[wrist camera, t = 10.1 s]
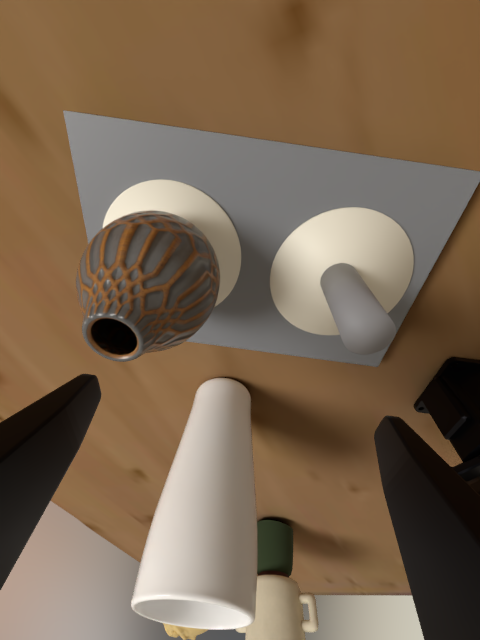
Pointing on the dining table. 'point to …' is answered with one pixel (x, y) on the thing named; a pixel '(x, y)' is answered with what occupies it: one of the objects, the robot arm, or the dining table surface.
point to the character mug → (278, 589)
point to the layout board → (281, 228)
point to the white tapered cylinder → (205, 521)
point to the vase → (146, 284)
